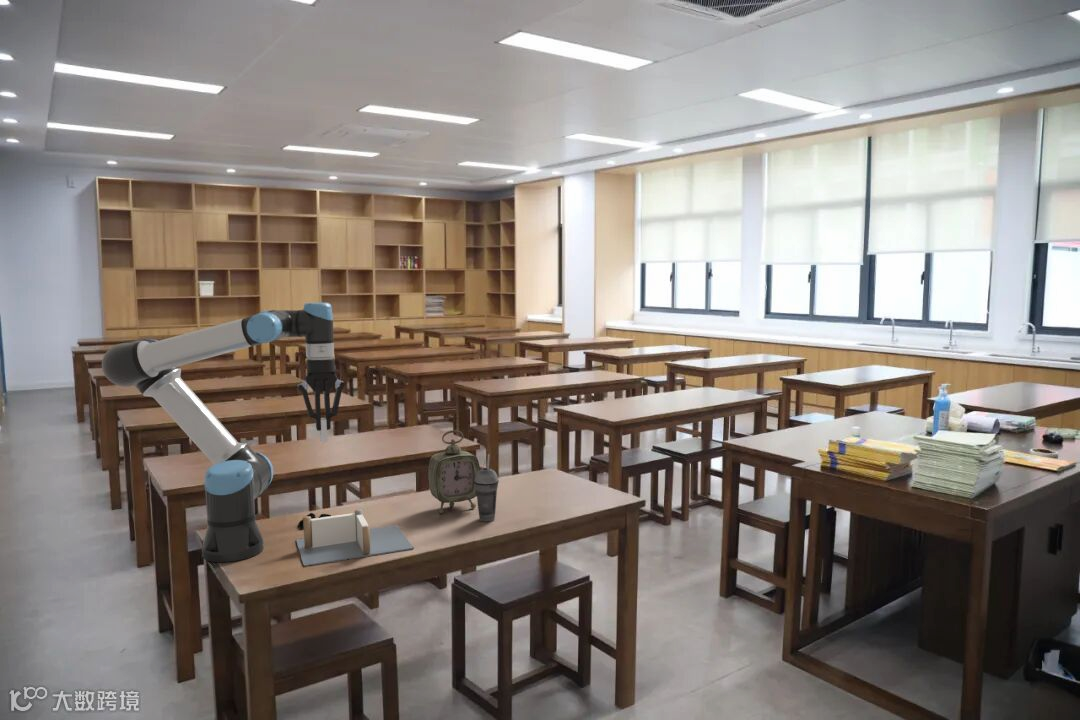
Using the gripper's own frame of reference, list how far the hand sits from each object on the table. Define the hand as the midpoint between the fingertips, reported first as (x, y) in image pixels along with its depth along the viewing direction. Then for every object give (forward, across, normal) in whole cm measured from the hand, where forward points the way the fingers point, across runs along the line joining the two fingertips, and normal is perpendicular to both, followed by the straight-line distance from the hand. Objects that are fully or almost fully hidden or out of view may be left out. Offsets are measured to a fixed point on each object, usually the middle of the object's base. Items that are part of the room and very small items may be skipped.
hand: (324, 441), depth 205 cm
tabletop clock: (+27, +39, +5) cm, 47 cm away
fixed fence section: (+26, 0, -11) cm, 29 cm away
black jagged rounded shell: (+27, -2, +9) cm, 29 cm away
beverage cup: (+27, +45, -9) cm, 53 cm away
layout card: (+26, +5, -14) cm, 30 cm away
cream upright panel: (+26, +7, -18) cm, 32 cm away
